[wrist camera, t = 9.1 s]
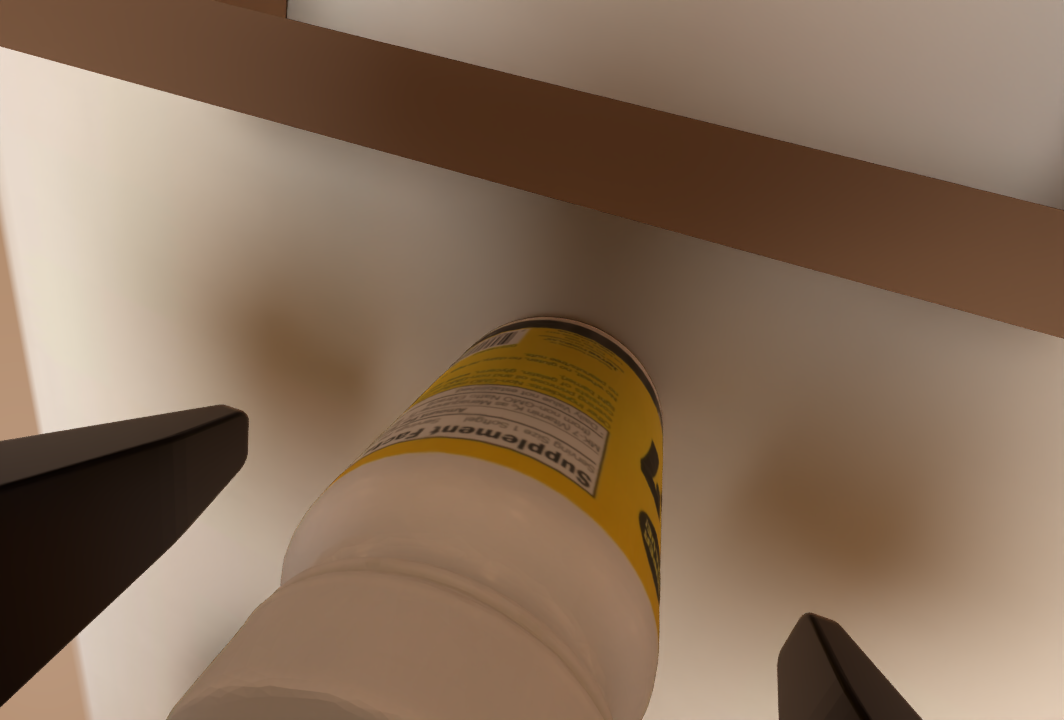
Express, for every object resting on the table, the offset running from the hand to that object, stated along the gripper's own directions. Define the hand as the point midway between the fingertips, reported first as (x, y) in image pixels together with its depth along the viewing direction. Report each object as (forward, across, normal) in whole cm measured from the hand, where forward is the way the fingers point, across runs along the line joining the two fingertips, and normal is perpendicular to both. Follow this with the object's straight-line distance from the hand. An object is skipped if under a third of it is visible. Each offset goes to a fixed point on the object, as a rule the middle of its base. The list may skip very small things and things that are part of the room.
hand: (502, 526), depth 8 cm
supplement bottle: (+4, 0, 0) cm, 4 cm away
